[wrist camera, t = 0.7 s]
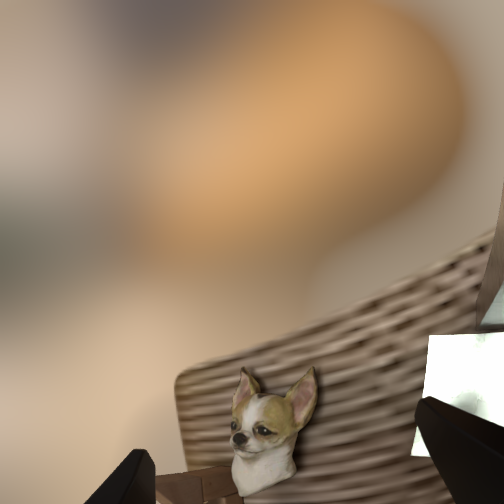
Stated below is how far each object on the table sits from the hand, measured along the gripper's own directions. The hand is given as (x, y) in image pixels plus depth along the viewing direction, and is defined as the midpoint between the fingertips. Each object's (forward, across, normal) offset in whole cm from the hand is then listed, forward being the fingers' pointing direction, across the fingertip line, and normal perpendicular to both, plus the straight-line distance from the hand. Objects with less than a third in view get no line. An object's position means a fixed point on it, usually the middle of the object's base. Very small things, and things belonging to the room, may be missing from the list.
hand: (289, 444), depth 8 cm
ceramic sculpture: (+19, -2, +20) cm, 28 cm away
